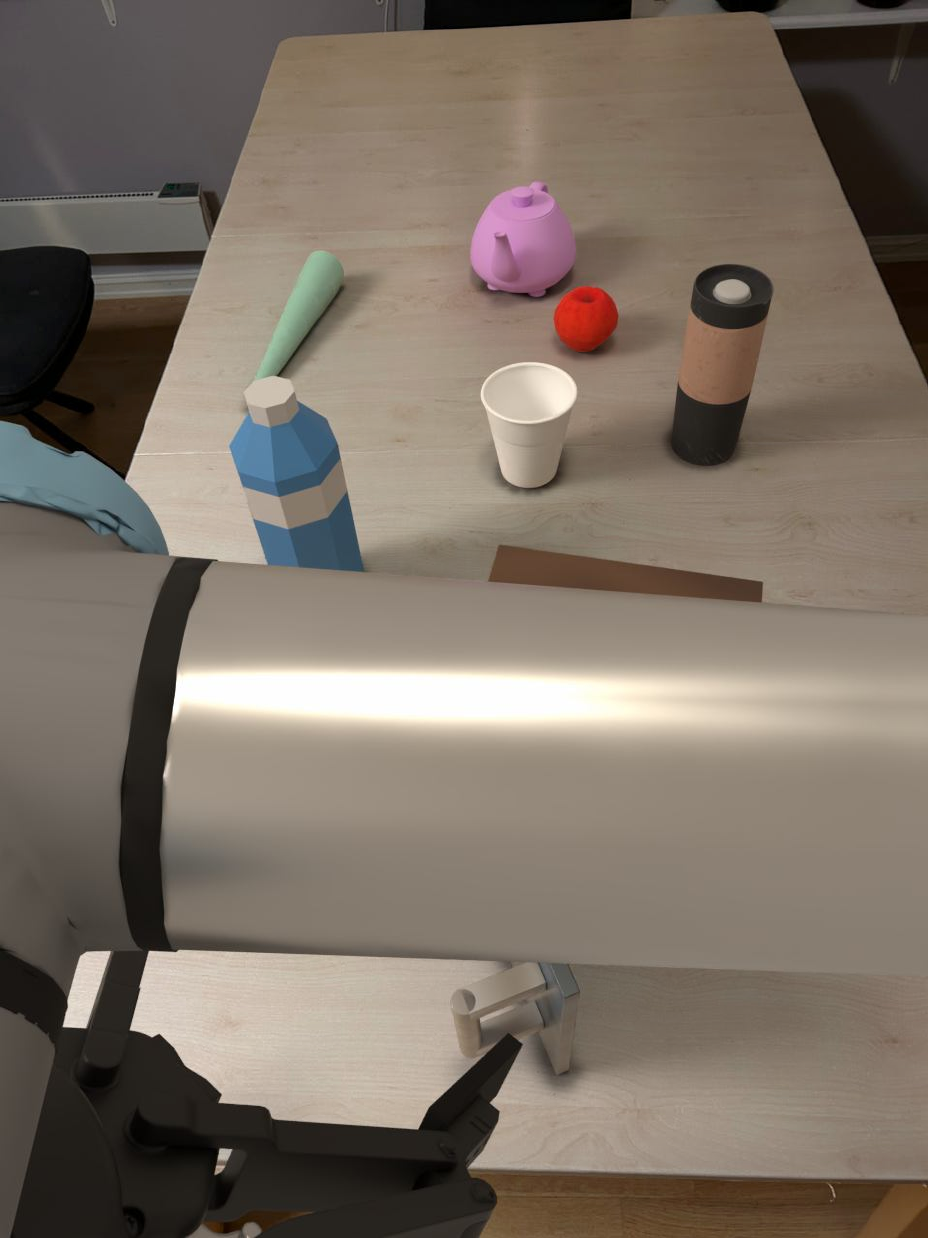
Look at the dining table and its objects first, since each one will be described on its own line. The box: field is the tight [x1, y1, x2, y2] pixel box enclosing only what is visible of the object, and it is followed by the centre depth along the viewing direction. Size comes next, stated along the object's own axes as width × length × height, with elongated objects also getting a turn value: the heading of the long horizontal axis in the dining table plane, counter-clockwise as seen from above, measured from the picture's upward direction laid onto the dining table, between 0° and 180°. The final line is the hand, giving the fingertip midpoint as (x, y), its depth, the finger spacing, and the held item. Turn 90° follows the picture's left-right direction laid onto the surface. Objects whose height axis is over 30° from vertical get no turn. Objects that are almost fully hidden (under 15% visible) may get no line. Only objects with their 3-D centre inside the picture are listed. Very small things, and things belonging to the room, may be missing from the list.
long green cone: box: [245, 250, 345, 404], centre depth 119 cm, size 5×6×27 cm
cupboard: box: [487, 544, 764, 603], centre depth 73 cm, size 15×20×18 cm
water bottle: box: [228, 375, 365, 572], centre depth 84 cm, size 9×9×25 cm
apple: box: [552, 285, 620, 353], centre depth 115 cm, size 8×8×7 cm
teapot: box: [469, 180, 577, 298], centre depth 123 cm, size 20×14×12 cm
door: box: [449, 962, 581, 1076], centre depth 64 cm, size 7×20×18 cm, turn 20°
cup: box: [480, 361, 579, 489], centre depth 99 cm, size 10×10×11 cm
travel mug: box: [670, 263, 775, 466], centre depth 97 cm, size 8×8×20 cm
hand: (379, 964), depth 41 cm, fingers open, 13 cm apart
